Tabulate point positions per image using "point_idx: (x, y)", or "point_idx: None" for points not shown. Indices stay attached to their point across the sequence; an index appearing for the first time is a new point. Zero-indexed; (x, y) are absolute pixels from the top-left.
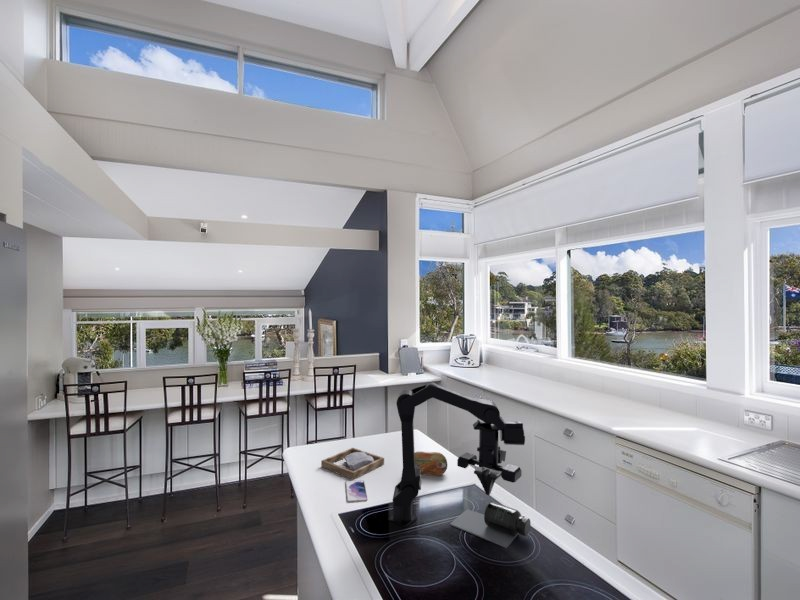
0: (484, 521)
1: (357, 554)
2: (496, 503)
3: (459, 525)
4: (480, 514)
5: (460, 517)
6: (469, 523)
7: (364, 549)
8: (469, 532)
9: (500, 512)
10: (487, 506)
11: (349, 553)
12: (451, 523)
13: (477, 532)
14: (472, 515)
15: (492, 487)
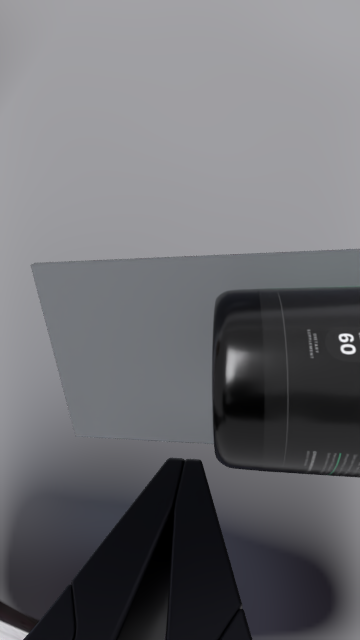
0: (186, 325)
1: (20, 632)
2: (286, 421)
3: (113, 426)
4: (125, 270)
5: (70, 368)
6: (137, 388)
7: (13, 617)
8: (178, 438)
9: (357, 476)
10: (226, 464)
11: (6, 634)
12: (78, 432)
13: (211, 429)
14: (99, 312)
15: (223, 543)
